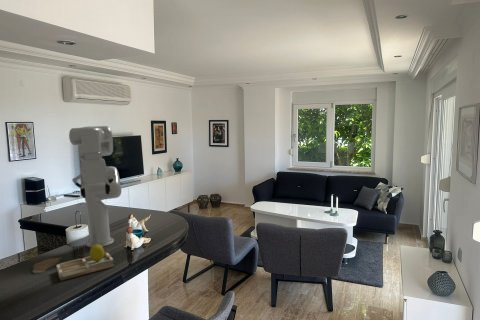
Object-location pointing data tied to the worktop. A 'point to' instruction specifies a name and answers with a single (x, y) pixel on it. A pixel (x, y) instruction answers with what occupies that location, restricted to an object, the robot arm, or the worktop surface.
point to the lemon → (96, 252)
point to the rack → (83, 266)
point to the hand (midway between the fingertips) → (95, 195)
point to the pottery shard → (45, 265)
